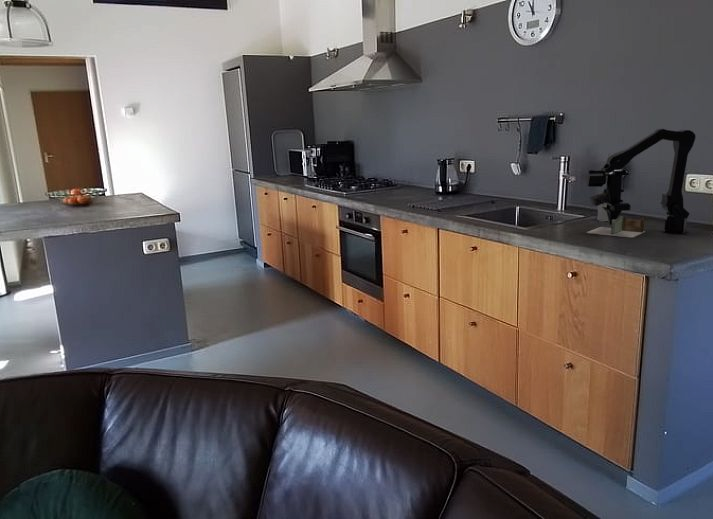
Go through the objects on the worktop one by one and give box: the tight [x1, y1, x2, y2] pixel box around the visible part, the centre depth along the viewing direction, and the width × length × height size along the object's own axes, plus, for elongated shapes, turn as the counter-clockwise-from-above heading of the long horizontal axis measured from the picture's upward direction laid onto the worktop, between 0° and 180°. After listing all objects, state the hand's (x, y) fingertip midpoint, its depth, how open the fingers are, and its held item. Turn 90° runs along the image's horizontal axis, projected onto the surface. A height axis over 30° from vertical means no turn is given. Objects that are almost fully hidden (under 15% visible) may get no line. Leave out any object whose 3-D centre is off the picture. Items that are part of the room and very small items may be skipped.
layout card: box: [585, 226, 646, 239], centre depth 222 cm, size 18×14×1 cm
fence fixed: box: [622, 216, 645, 232], centre depth 221 cm, size 9×1×6 cm, turn 45°
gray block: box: [597, 192, 618, 223], centre depth 248 cm, size 8×8×12 cm
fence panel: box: [610, 215, 624, 234], centre depth 220 cm, size 9×1×6 cm, turn 137°
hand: (611, 224), depth 222 cm, fingers closed
